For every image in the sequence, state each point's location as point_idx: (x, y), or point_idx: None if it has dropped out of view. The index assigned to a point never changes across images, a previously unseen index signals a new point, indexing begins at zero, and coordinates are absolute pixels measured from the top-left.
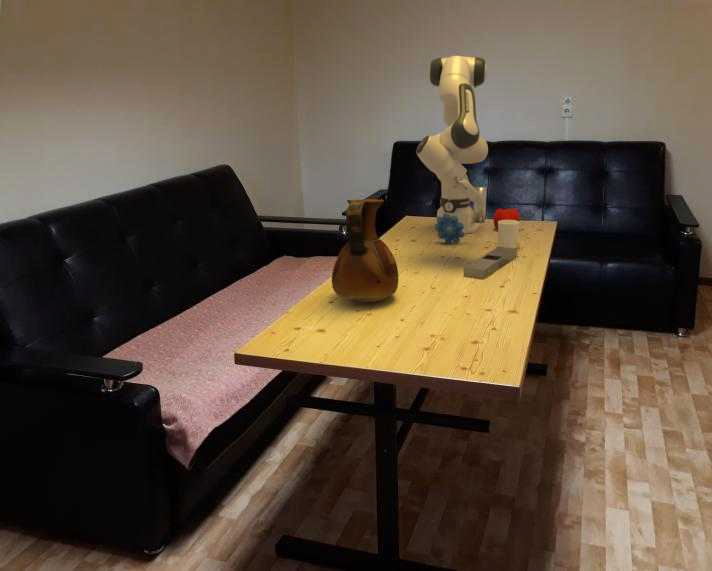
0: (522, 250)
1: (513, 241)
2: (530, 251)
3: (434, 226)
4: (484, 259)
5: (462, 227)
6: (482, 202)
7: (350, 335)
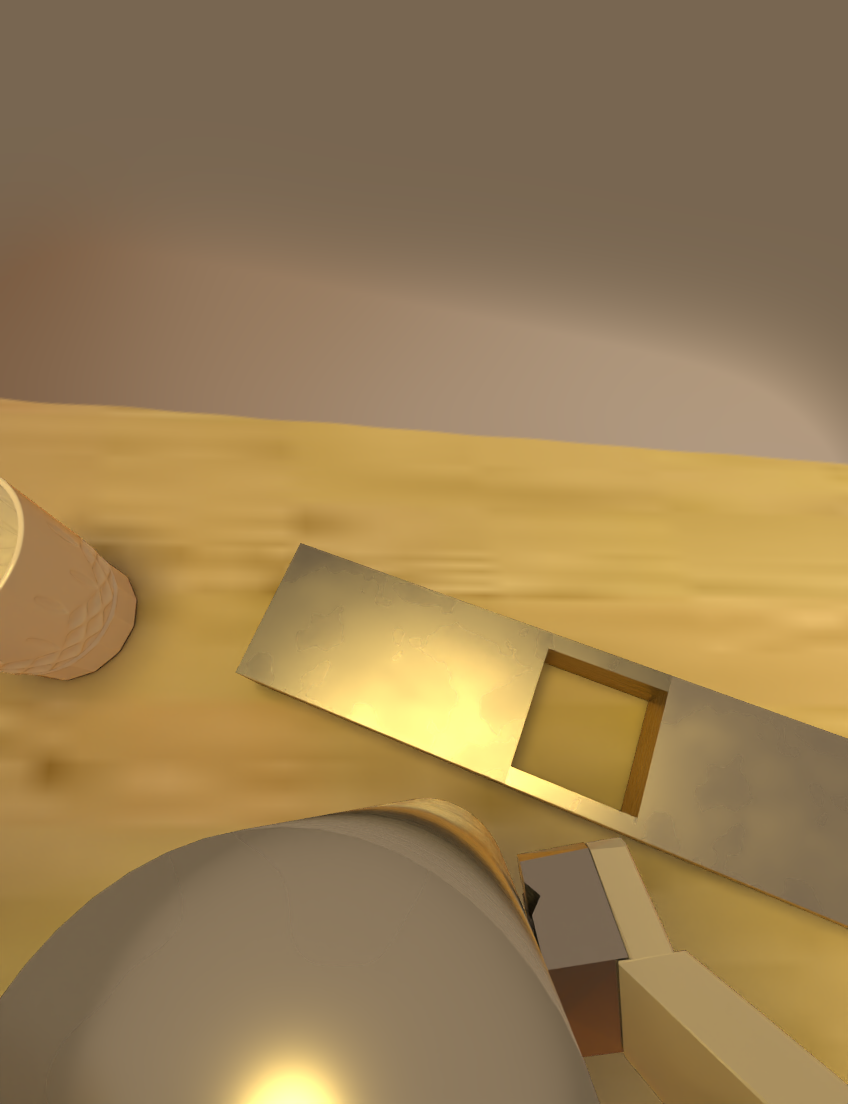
0: (155, 528)
1: (103, 564)
2: (183, 485)
3: None
4: (663, 790)
5: None
6: (649, 909)
7: None
